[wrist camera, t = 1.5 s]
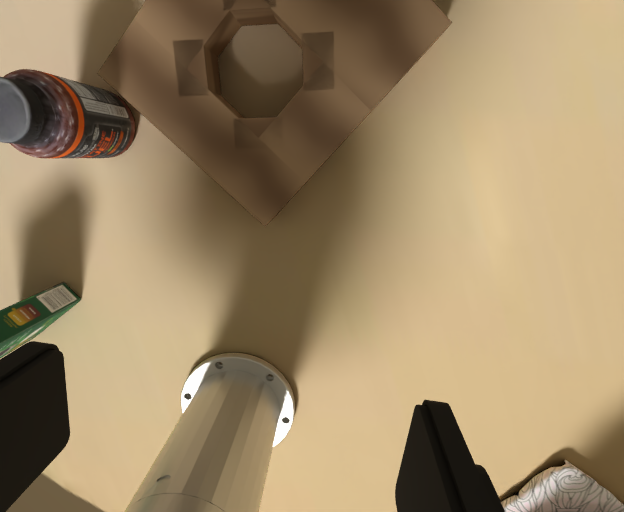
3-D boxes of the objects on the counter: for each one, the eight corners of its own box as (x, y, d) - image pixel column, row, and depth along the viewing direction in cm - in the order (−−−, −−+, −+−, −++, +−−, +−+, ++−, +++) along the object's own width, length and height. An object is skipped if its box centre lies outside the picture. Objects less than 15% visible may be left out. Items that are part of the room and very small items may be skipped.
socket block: (271, 219, 35) (264, 226, 32) (122, 81, 33) (97, 73, 29) (439, 37, 30) (451, 22, 27) (276, -143, 27) (268, -184, 24)
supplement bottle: (112, 171, 35) (11, 179, 24) (63, 124, 34) (-66, 110, 23) (151, 125, 33) (61, 111, 23) (100, 74, 33) (-19, 34, 22)
